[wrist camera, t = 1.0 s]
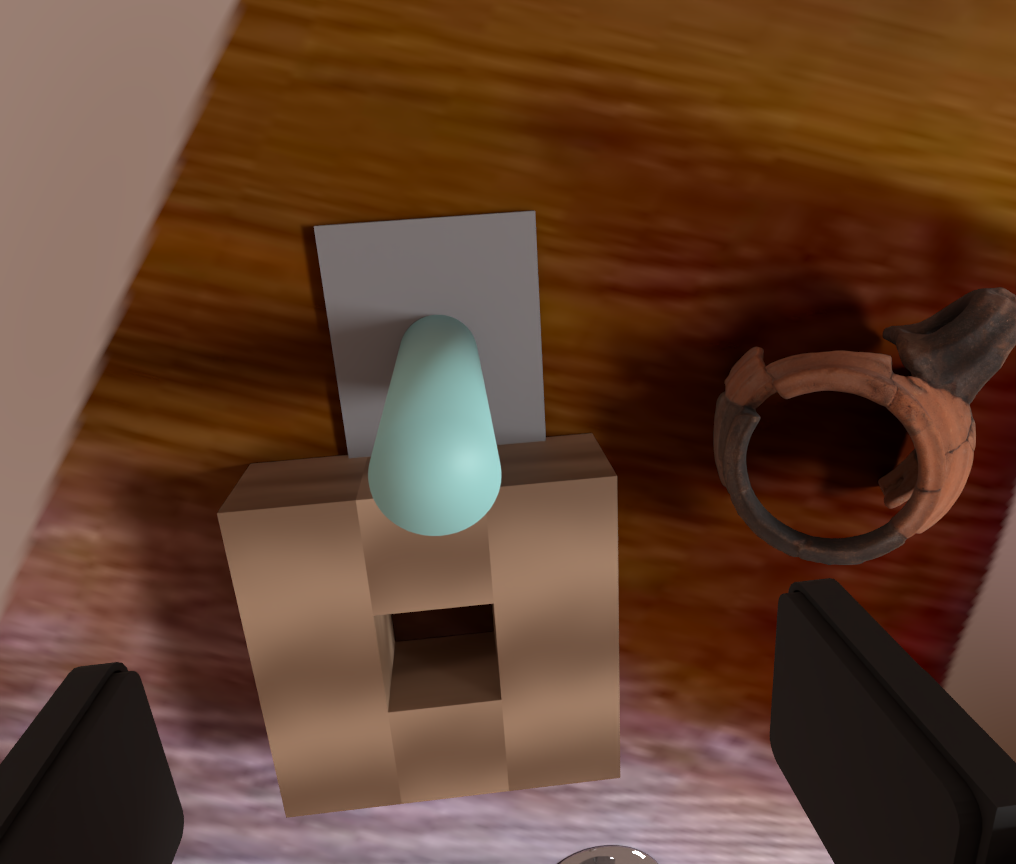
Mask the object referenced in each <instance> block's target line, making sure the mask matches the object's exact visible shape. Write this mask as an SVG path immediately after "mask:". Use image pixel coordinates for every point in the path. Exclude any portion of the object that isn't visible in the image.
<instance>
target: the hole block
mask: <svg viewBox="0 0 1016 864" xmlns="http://www.w3.org/2000/svg"><path fill="white" fill-rule="evenodd" d="M497 450H498V455H499V460H500V465H501V485H500V489H499V493H498V495H497V498H496V500H495V502H494V504H493V505H492V507H491V508H490V510H489V511H488V512H487V513H486V515H484V516H483V517H482V518H481V519H480V520H479V521H478V522H476V523H475V524H474V525H472V526H470V527H468V528H467V529H465V530H462V531H460V532H457V533H453V534H449V535H443V536H426V535H420V534H416V533H413V532H410V531H407V530H405V529H403V528H401V527H399V526H397V525H396V524H394V523H393V522H392V521H390V520H389V519H388V518H387V517H386V516H385V515H384V514H383V513H382V512H381V510H380V509H379V508H378V506H377V505H376V503H375V501H374V499H373V497H372V494H371V491H370V487H369V481H368V469H369V463H370V459H371V456H370V457H359V458H349V456H348V455H342V456H331V457H319V458H308V459H297V460H286V461H275V462H263V463H252V464H250V465H249V467H248V468H247V470H246V471H245V472H244V474H243V475H242V477H241V478H240V480H239V481H238V483H237V484H236V486H235V487H234V489H233V490H232V492H231V493H230V495H229V496H228V498H227V499H226V501H225V502H224V503H223V505H222V506H221V508H220V509H219V511H218V512H217V516H218V521H219V525H220V529H221V534H222V538H223V543H224V547H225V551H226V556H227V560H228V564H229V569H230V573H231V578H232V582H233V586H234V591H235V595H236V599H237V604H238V608H239V613H240V617H241V621H242V626H243V630H244V635H245V639H246V643H247V648H248V652H249V656H250V661H251V665H252V670H253V674H254V678H255V683H256V687H257V691H258V696H259V700H260V705H261V709H262V713H263V718H264V722H265V727H266V731H267V735H268V740H269V744H270V748H271V753H272V757H273V762H274V766H275V770H276V775H277V779H278V783H279V788H280V792H281V797H282V801H283V805H284V810H285V814H286V818H287V817H295V816H304V815H312V814H320V813H329V812H337V811H345V810H354V809H362V808H371V807H379V806H387V805H396V804H404V803H412V802H421V801H429V800H438V799H446V798H454V797H463V796H471V795H479V794H488V793H496V792H505V791H513V790H521V789H530V788H538V787H547V786H555V785H563V784H572V783H580V782H588V781H597V780H605V779H614V778H620V708H619V606H618V504H617V475H616V473H615V471H614V470H613V468H612V466H611V464H610V463H609V461H608V459H607V458H606V456H605V454H604V453H603V451H602V449H601V447H600V446H599V444H598V442H597V441H596V439H595V437H594V435H593V434H592V433H588V434H577V435H566V436H554V437H546V441H538V442H526V443H515V444H504V445H497ZM483 604H492V614H493V626H494V632H485V633H476V634H466V635H457V636H447V637H438V638H429V639H419V640H410V641H400V642H395V637H394V630H393V622H392V615H391V614H396V613H406V612H415V611H425V610H435V609H444V608H454V607H464V606H473V605H483Z"/></svg>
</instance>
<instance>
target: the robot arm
mask: <svg viewBox="0 0 1016 864" xmlns="http://www.w3.org/2000/svg"><path fill="white" fill-rule="evenodd" d="M770 742H771V747H772V751H773V754H774V757H775V759H776V762H777V764H778V765H779V767H780V769H781V771H782V772H783V774H784V776H785V778H786V779H787V781H788V783H789V785H790V786H791V788H792V790H793V792H794V793H795V795H796V797H797V799H798V800H799V802H800V804H801V806H802V807H803V809H804V811H805V813H806V814H807V816H808V818H809V820H810V821H811V823H812V825H813V827H814V828H815V830H816V832H817V834H818V835H819V837H820V839H821V841H822V842H823V844H824V846H825V848H826V849H827V851H828V853H829V855H830V856H831V858H832V860H833V862H834V864H1016V763H1015V762H1014V761H1013V760H1012V759H1011V758H1010V757H1009V755H1007V753H1006V752H1005V751H1003V749H1002V748H1001V747H1000V746H999V745H998V744H997V743H996V742H995V741H994V740H993V739H992V738H991V737H990V736H989V735H988V734H987V733H986V732H985V731H984V730H983V729H982V728H981V727H980V726H979V725H978V724H977V723H976V722H975V721H974V720H973V719H972V718H971V717H970V716H969V715H968V714H967V713H966V712H965V711H964V709H963V708H961V706H959V704H958V703H957V702H956V701H955V700H954V699H953V698H952V697H951V696H950V695H949V694H948V693H947V692H946V691H945V690H944V689H943V688H942V687H941V686H940V685H939V684H938V683H937V682H936V681H935V680H934V679H933V678H932V677H931V676H930V675H929V674H928V673H927V672H926V671H925V670H924V669H922V668H921V667H920V666H919V665H918V664H917V663H916V662H915V661H914V660H913V659H912V658H911V657H910V656H909V654H908V653H907V652H906V651H905V650H904V649H903V648H902V647H901V646H900V645H899V644H898V643H897V642H896V641H895V640H894V639H893V638H892V637H891V636H890V635H889V634H888V633H887V632H886V631H885V630H884V629H883V628H882V627H881V626H880V625H879V624H878V623H877V622H876V621H875V620H874V619H873V618H872V617H871V616H870V615H869V614H868V612H867V611H866V610H865V609H864V608H863V607H862V606H861V605H860V604H859V603H858V602H857V601H856V600H855V599H854V598H853V597H852V596H851V595H850V594H849V593H848V592H847V591H846V590H845V589H844V588H843V587H842V586H841V585H840V584H839V583H838V582H837V581H835V580H834V579H830V578H828V579H819V580H811V581H802V582H795V583H793V584H791V586H790V588H789V592H788V593H786V594H782V595H781V596H780V598H779V602H778V615H777V630H776V646H775V661H774V677H773V692H772V708H771V723H770ZM183 827H184V815H183V810H182V807H181V803H180V800H179V797H178V794H177V791H176V788H175V785H174V781H173V778H172V775H171V772H170V769H169V766H168V763H167V759H166V756H165V753H164V750H163V747H162V744H161V740H160V737H159V734H158V731H157V728H156V725H155V722H154V718H153V715H152V712H151V709H150V706H149V703H148V700H147V696H146V693H145V690H144V687H143V684H142V681H141V678H140V676H139V674H138V673H137V672H135V671H128V670H127V667H126V666H125V665H124V664H123V663H119V662H115V663H106V664H98V665H89V666H81V667H77V668H74V669H73V670H72V671H71V672H70V673H69V674H68V675H67V677H66V678H65V679H64V681H63V682H62V683H61V685H60V686H59V687H58V689H57V690H56V691H55V693H54V694H53V695H52V697H51V698H50V699H49V701H48V702H47V703H46V705H45V706H44V707H43V709H42V710H41V711H40V712H39V714H38V715H37V716H36V718H35V719H34V720H33V722H32V723H31V724H30V726H29V727H28V728H27V730H26V731H25V732H24V734H23V735H22V736H21V738H20V739H19V740H18V742H17V743H16V744H15V746H14V747H13V748H12V750H11V751H10V752H9V753H8V755H7V756H6V757H5V759H4V760H3V761H2V763H1V764H0V864H172V862H173V859H174V856H175V854H176V851H177V849H178V846H179V844H180V841H181V838H182V834H183Z"/></svg>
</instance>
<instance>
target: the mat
mask: <svg viewBox="0 0 1016 864" xmlns="http://www.w3.org/2000/svg"><path fill="white" fill-rule="evenodd" d="M314 232H315V238H316V245H317V252H318V258H319V265H320V271H321V278H322V284H323V291H324V298H325V304H326V311H327V317H328V324H329V331H330V337H331V344H332V350H333V357H334V364H335V370H336V377H337V383H338V390H339V397H340V403H341V410H342V416H343V423H344V429H345V436H346V443H347V449H348V456H349V458H359V457H370V456H371V455H372V451H373V447H374V443H375V440H376V436H377V432H378V428H379V424H380V420H381V417H382V413H383V409H384V405H385V401H386V397H387V394H388V390H389V386H390V382H391V378H392V374H393V371H394V367H395V363H396V359H397V355H398V351H399V348H400V344H401V340H402V338H403V336H404V334H405V332H406V331H407V329H408V328H409V327H410V326H411V325H412V324H413V323H415V322H416V321H417V320H419V319H421V318H423V317H426V316H430V315H446V316H450V317H453V318H455V319H457V320H459V321H460V322H462V323H463V324H464V325H465V326H466V327H467V328H468V329H469V330H470V331H471V333H472V335H473V336H474V339H475V341H476V345H477V349H478V354H479V359H480V364H481V369H482V374H483V379H484V384H485V389H486V394H487V399H488V404H489V409H490V414H491V419H492V424H493V430H494V435H495V440H496V445H504V444H515V443H526V442H538V441H546V433H545V412H544V391H543V369H542V348H541V327H540V306H539V284H538V263H537V242H536V221H535V211H519V212H505V213H491V214H476V215H462V216H448V217H433V218H419V219H405V220H390V221H376V222H362V223H347V224H333V225H319V226H314Z"/></svg>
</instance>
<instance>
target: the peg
mask: <svg viewBox="0 0 1016 864" xmlns="http://www.w3.org/2000/svg"><path fill="white" fill-rule="evenodd" d="M368 481H369V487H370V491H371V494H372V497H373V499H374V501H375V503H376V505H377V506H378V508H379V509H380V510H381V512H382V513H383V514H384V515H385V516H386V517H387V518H388V519H389V520H390V521H392V522H393V523H394V524H396V525H397V526H399V527H401V528H403V529H405V530H407V531H410V532H413V533H416V534H420V535H426V536H443V535H449V534H453V533H457V532H460V531H462V530H465V529H467V528H468V527H470V526H472V525H474V524H475V523H476V522H478V521H479V520H480V519H481V518H482V517H483V516H484V515H486V513H487V512H488V511H489V510H490V508H491V507H492V505H493V504H494V502H495V500H496V498H497V495H498V493H499V489H500V485H501V465H500V460H499V455H498V450H497V445H496V440H495V435H494V430H493V424H492V419H491V414H490V409H489V404H488V399H487V394H486V389H485V384H484V379H483V374H482V369H481V364H480V359H479V354H478V349H477V345H476V341H475V339H474V336H473V335H472V333H471V331H470V330H469V329H468V328H467V327H466V326H465V325H464V324H463V323H462V322H460V321H459V320H457V319H455V318H453V317H450V316H446V315H430V316H426V317H423V318H421V319H419V320H417V321H416V322H415V323H413V324H412V325H411V326H410V327H409V328H408V329H407V331H406V332H405V334H404V336H403V338H402V340H401V344H400V348H399V351H398V355H397V359H396V363H395V367H394V371H393V374H392V378H391V382H390V386H389V390H388V394H387V397H386V401H385V405H384V409H383V413H382V417H381V420H380V424H379V428H378V432H377V436H376V440H375V443H374V447H373V451H372V455H371V459H370V463H369V469H368Z"/></svg>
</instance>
